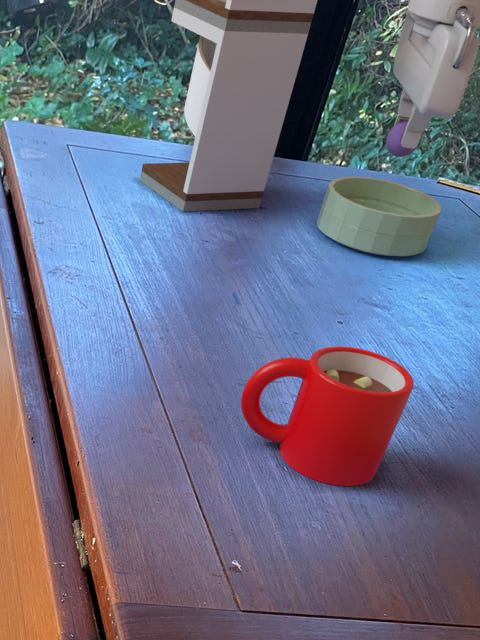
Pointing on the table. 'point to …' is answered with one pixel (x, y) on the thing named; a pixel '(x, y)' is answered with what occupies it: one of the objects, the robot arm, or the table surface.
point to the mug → (333, 412)
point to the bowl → (378, 216)
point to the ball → (397, 141)
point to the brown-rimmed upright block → (234, 99)
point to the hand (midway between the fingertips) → (403, 140)
